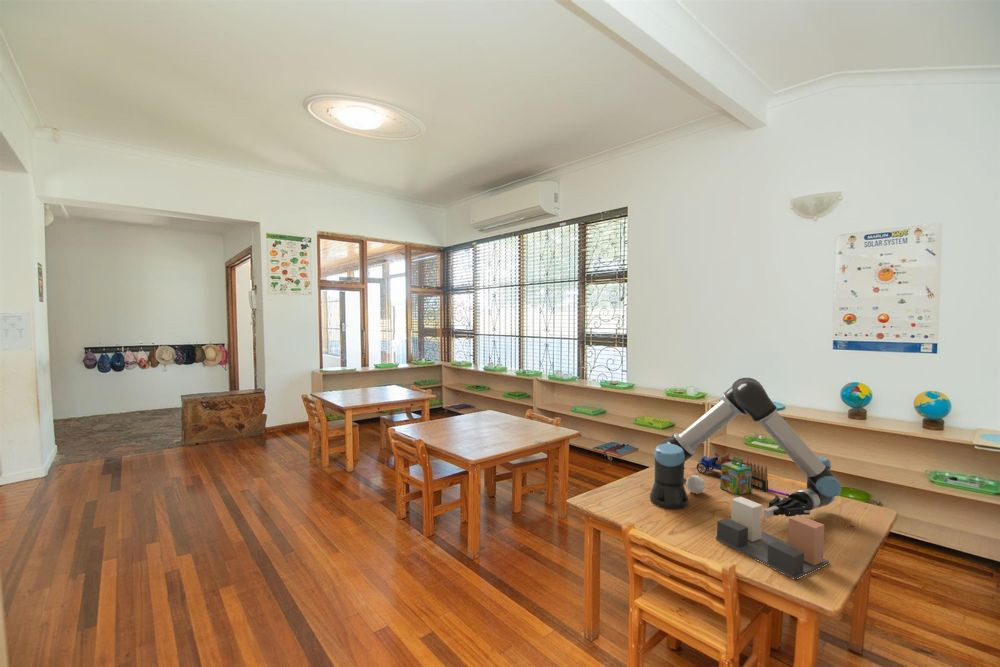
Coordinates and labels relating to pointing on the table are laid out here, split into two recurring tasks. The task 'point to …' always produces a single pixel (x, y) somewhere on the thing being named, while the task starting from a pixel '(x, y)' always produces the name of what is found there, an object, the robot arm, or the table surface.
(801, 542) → the terracotta key
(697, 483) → the geometric ball
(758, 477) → the ammunition clip
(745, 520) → the off-white key
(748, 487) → the chalk box
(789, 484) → the table surface
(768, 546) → the key console
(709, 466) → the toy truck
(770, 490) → the yellow handled tool
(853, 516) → the table surface
